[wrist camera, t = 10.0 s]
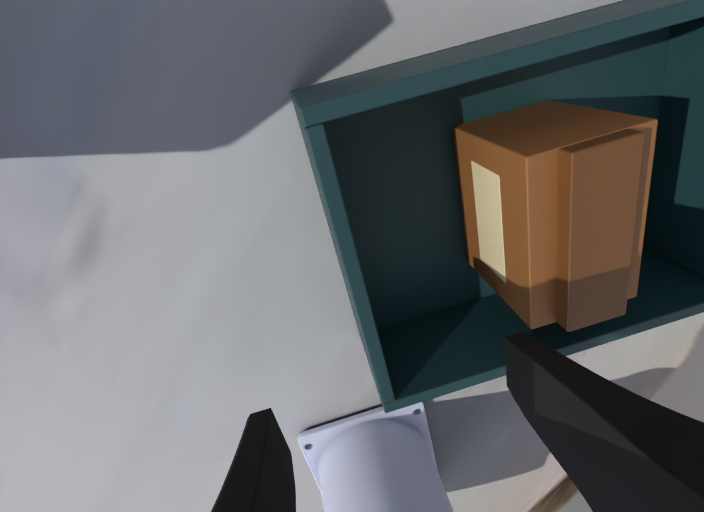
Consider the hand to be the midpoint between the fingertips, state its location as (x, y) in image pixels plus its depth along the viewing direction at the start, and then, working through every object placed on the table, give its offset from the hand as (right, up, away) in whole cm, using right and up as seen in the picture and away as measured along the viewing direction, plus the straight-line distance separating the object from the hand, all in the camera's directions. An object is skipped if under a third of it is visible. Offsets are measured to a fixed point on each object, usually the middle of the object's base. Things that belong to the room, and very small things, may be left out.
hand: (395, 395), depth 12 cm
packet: (+6, +8, +7) cm, 12 cm away
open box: (+6, +8, +8) cm, 13 cm away
